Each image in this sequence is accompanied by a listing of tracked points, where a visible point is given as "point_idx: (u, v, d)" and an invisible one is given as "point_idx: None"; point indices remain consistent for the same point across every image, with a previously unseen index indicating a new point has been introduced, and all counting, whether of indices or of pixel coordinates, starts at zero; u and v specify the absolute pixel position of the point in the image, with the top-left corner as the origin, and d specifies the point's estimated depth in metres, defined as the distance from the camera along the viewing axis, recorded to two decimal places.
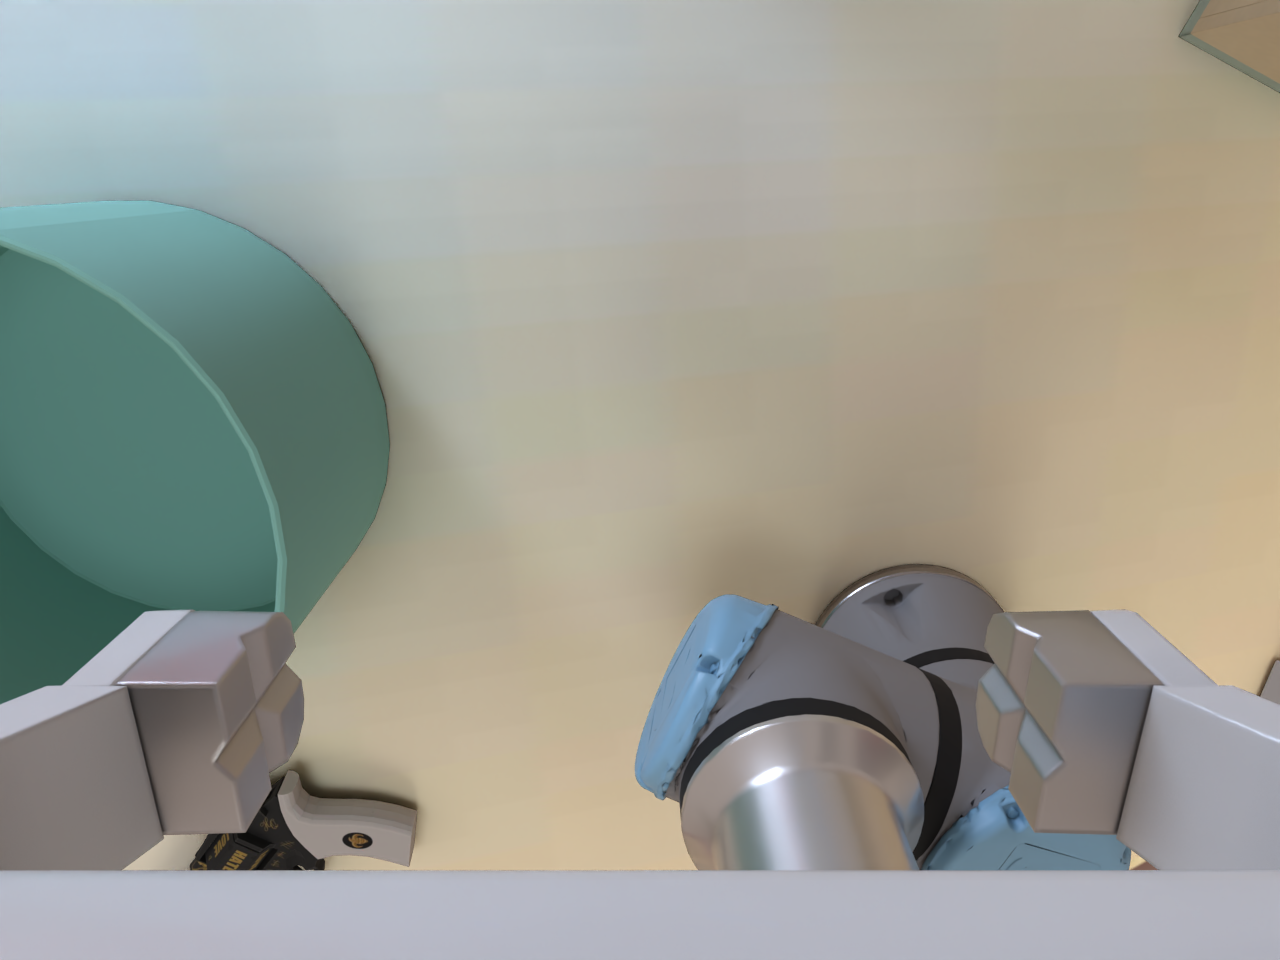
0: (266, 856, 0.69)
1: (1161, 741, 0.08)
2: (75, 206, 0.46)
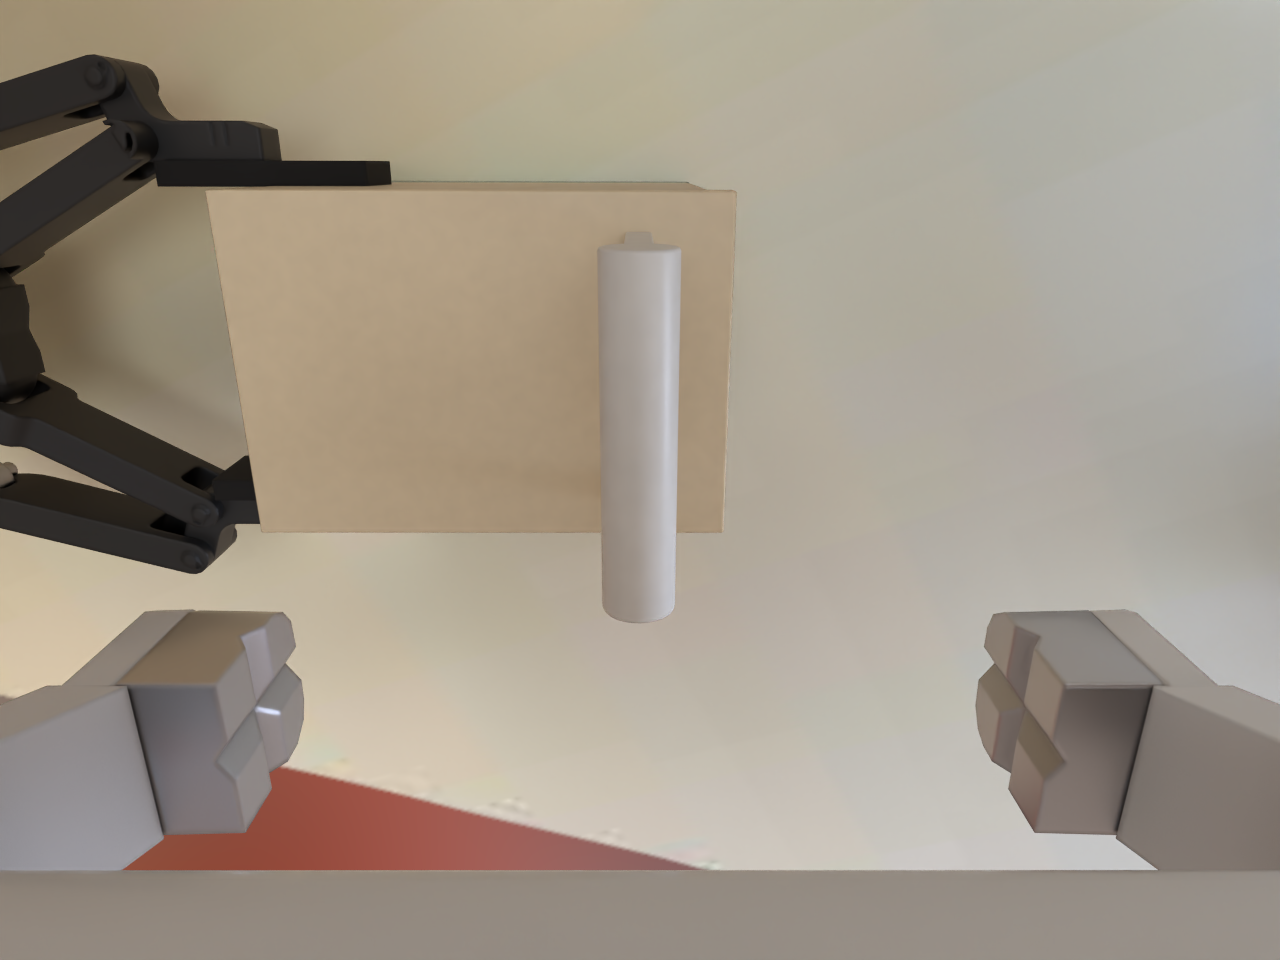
0: None
1: (1161, 741, 0.08)
2: None
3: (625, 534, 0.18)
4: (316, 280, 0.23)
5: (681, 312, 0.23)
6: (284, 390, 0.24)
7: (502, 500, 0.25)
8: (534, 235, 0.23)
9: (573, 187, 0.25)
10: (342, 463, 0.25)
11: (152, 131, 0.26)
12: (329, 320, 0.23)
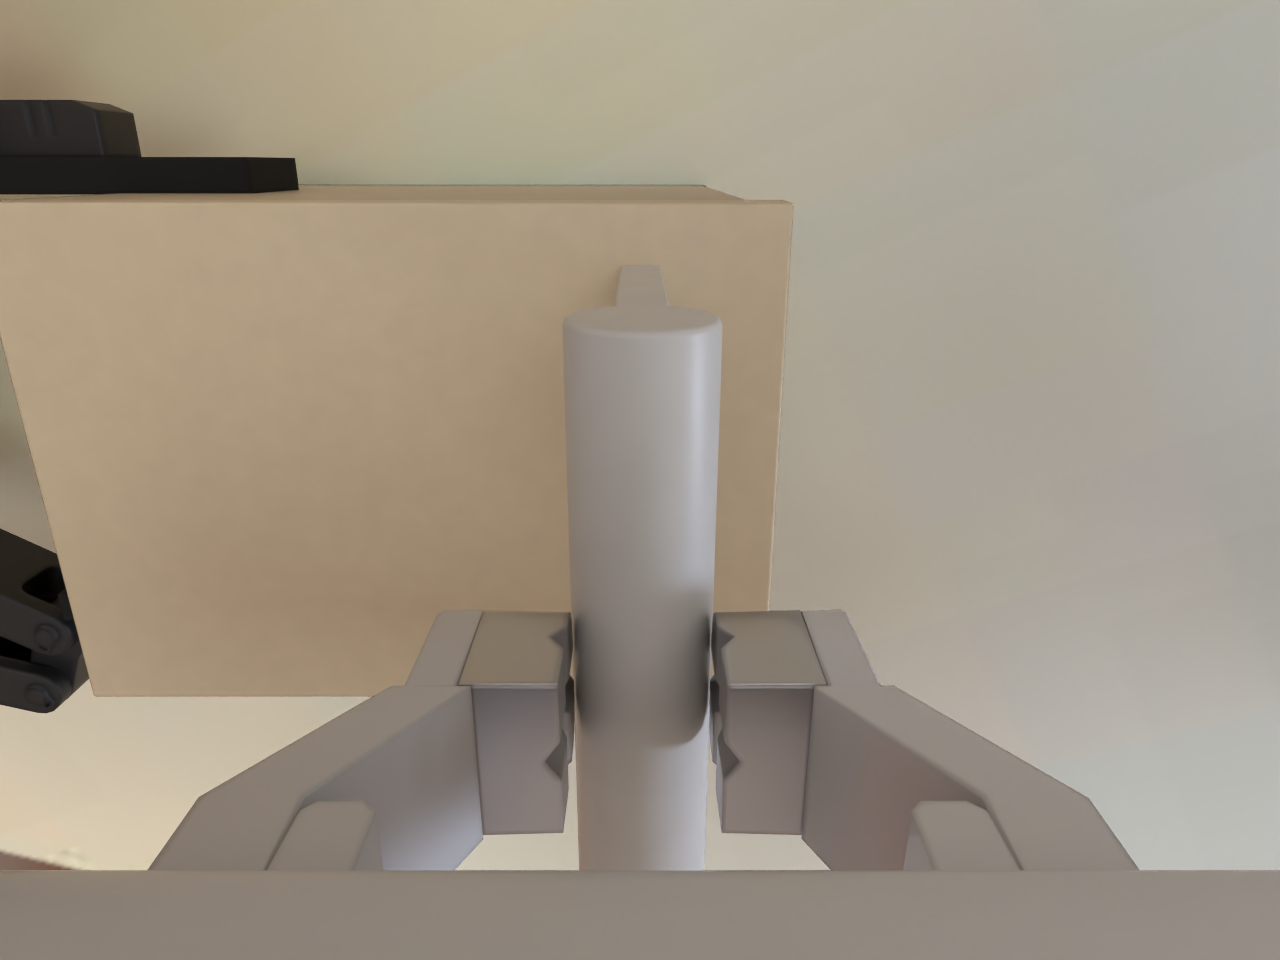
0: None
1: (823, 741, 0.08)
2: None
3: (618, 820, 0.10)
4: (148, 339, 0.15)
5: None
6: (111, 500, 0.16)
7: None
8: (480, 270, 0.15)
9: (545, 195, 0.17)
10: (205, 603, 0.17)
11: None
12: (172, 398, 0.15)
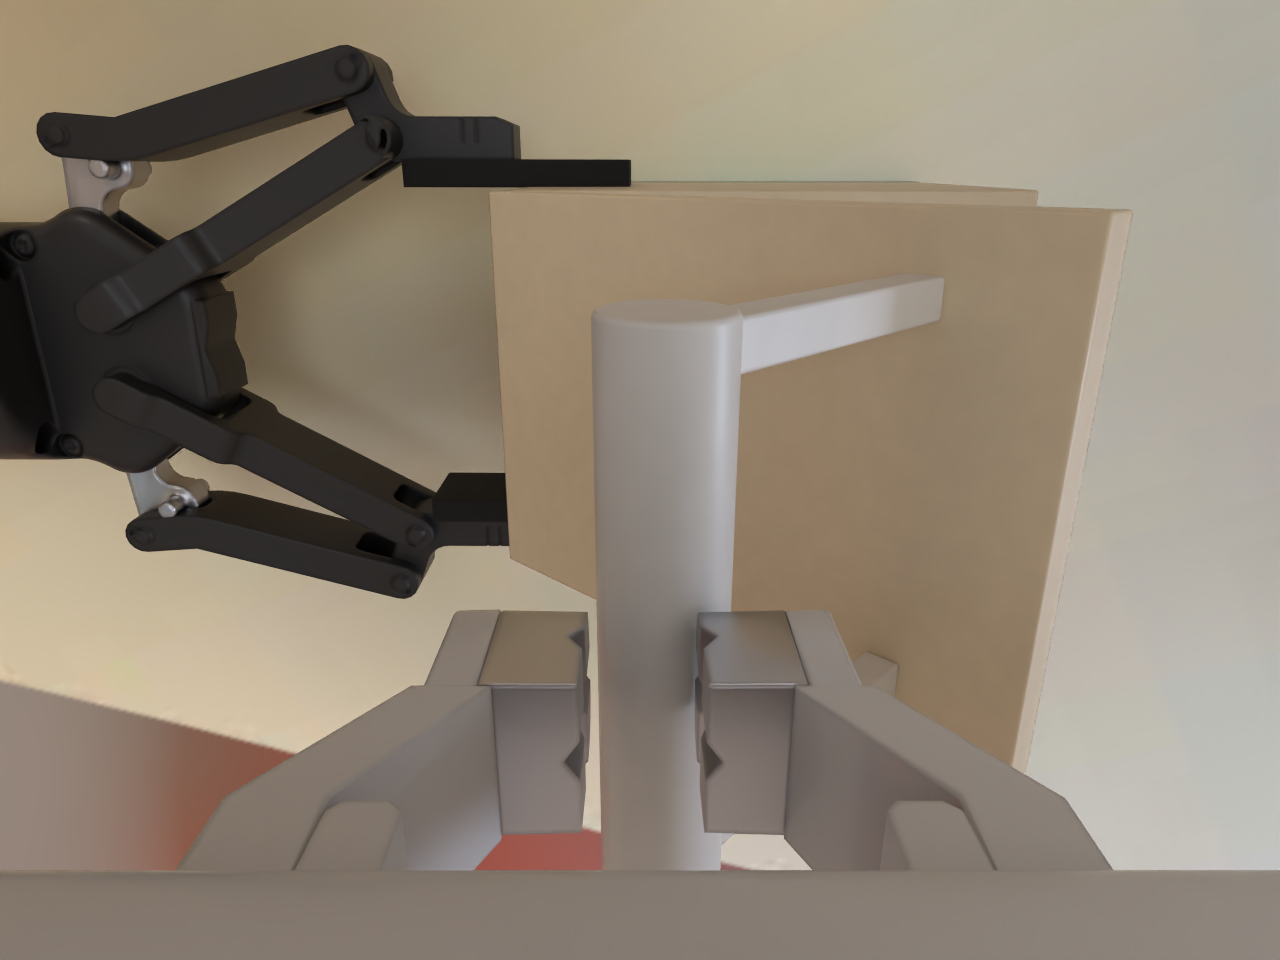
0: None
1: (804, 741, 0.08)
2: None
3: (607, 770, 0.11)
4: (563, 300, 0.20)
5: (979, 418, 0.14)
6: (532, 416, 0.21)
7: None
8: (780, 266, 0.15)
9: None
10: (572, 511, 0.21)
11: (398, 128, 0.25)
12: (570, 347, 0.20)
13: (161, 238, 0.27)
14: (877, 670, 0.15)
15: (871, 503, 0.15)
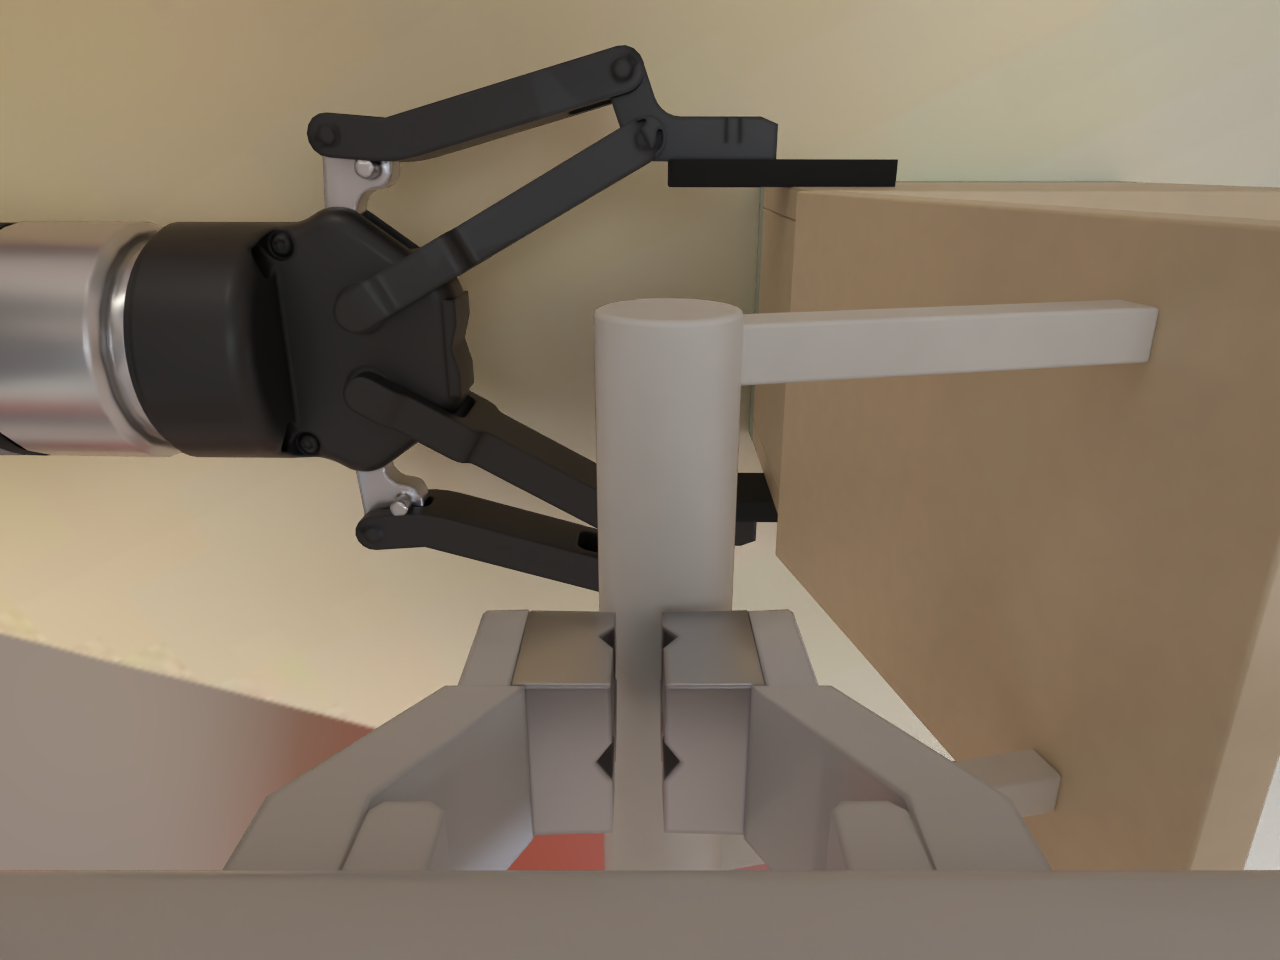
0: None
1: (761, 741, 0.08)
2: None
3: None
4: (835, 303, 0.19)
5: (1176, 493, 0.10)
6: (803, 418, 0.21)
7: (909, 660, 0.17)
8: (1005, 282, 0.13)
9: None
10: (820, 520, 0.21)
11: (664, 128, 0.25)
12: None
13: (405, 238, 0.27)
14: (1026, 773, 0.13)
15: (1057, 574, 0.13)
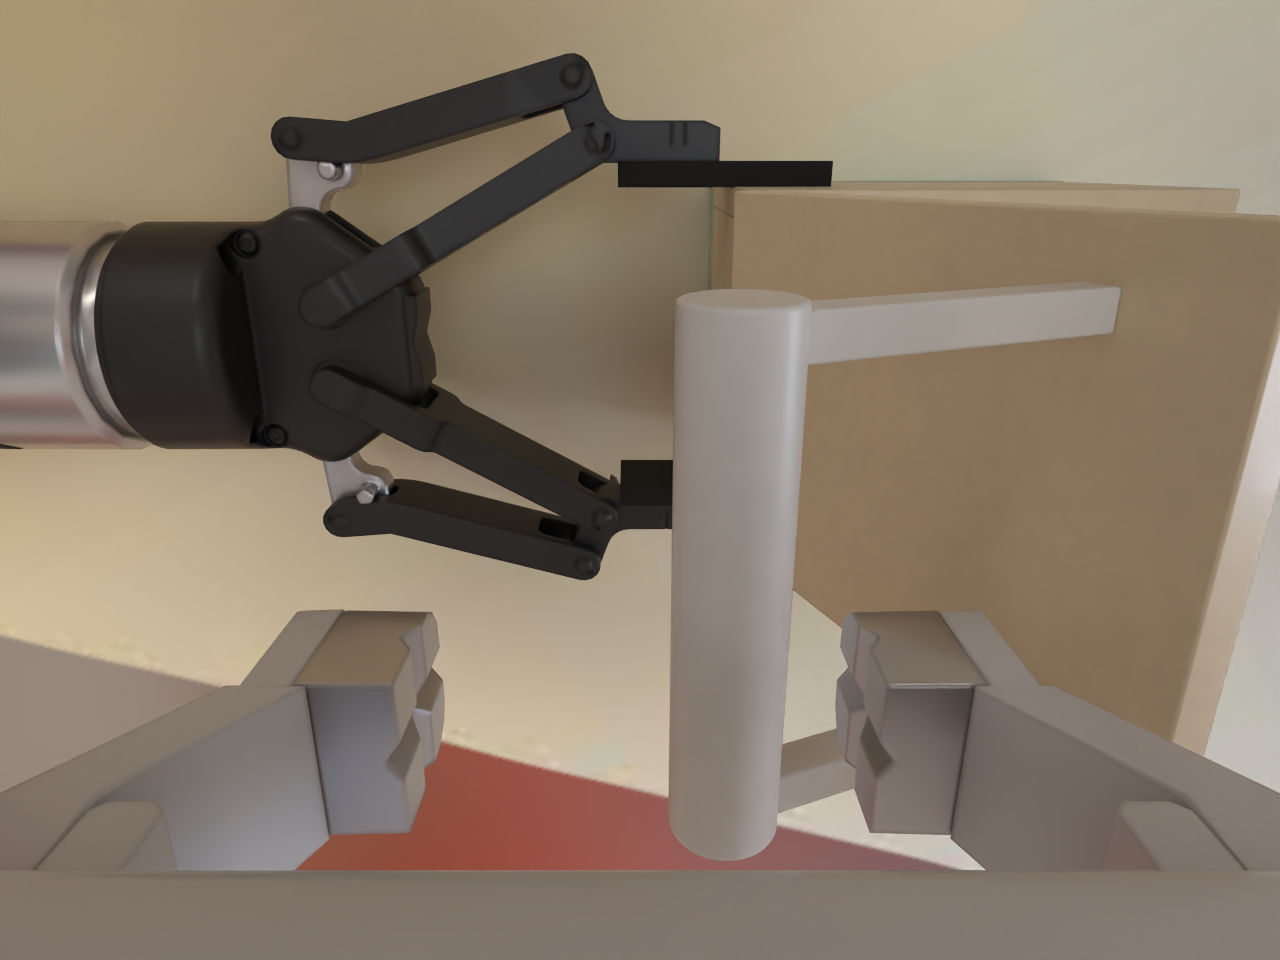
0: None
1: (983, 741, 0.08)
2: None
3: None
4: None
5: (1145, 442, 0.12)
6: None
7: None
8: (968, 269, 0.15)
9: (1057, 187, 0.25)
10: None
11: (613, 131, 0.26)
12: None
13: (367, 236, 0.28)
14: None
15: (1031, 521, 0.15)
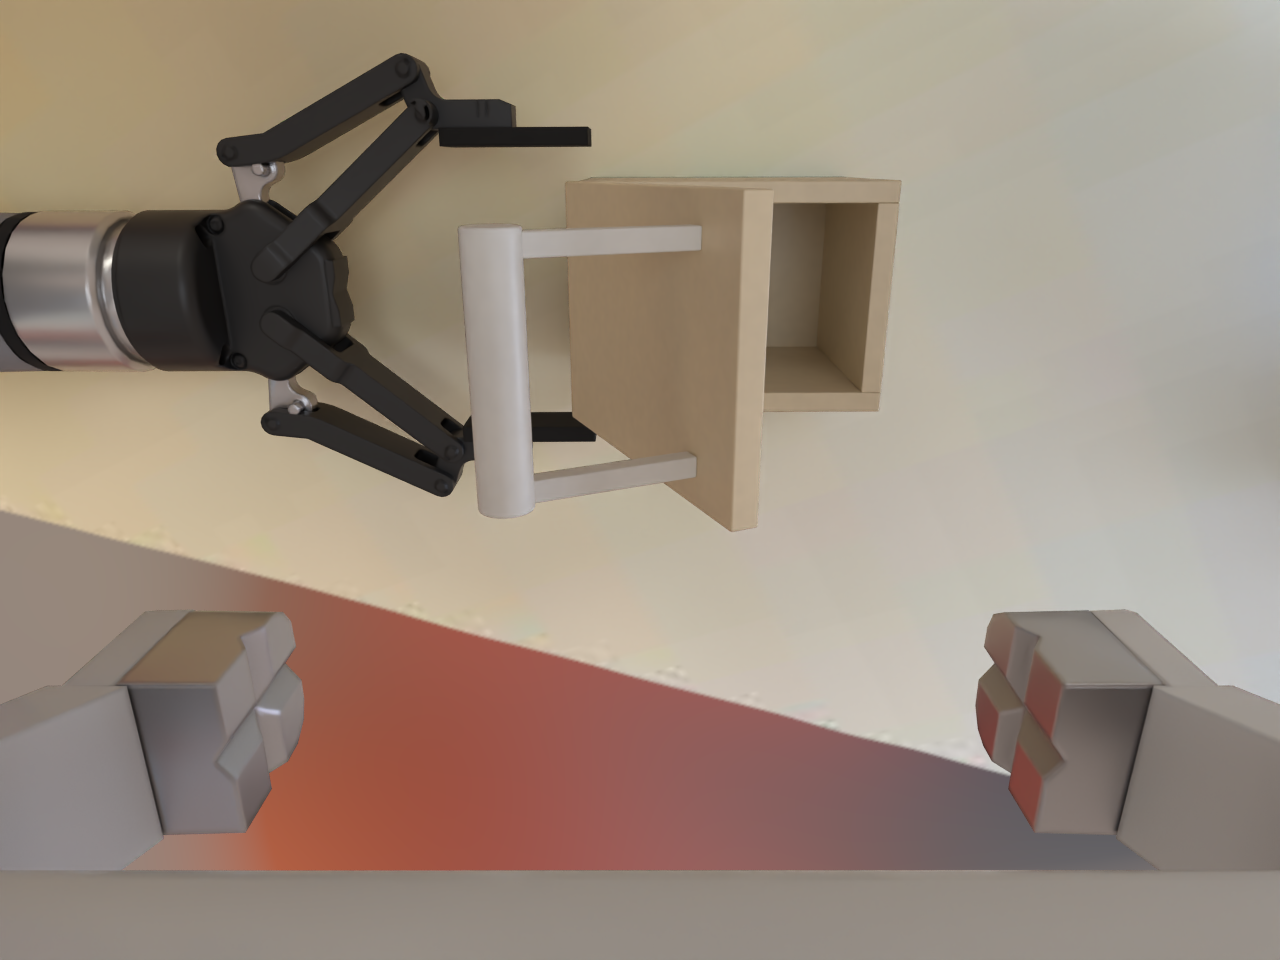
0: None
1: (1161, 741, 0.08)
2: None
3: None
4: None
5: (714, 304, 0.24)
6: (579, 321, 0.35)
7: (640, 439, 0.31)
8: (656, 222, 0.27)
9: None
10: (593, 381, 0.34)
11: (434, 105, 0.37)
12: (592, 275, 0.33)
13: None
14: (681, 457, 0.27)
15: (686, 359, 0.27)
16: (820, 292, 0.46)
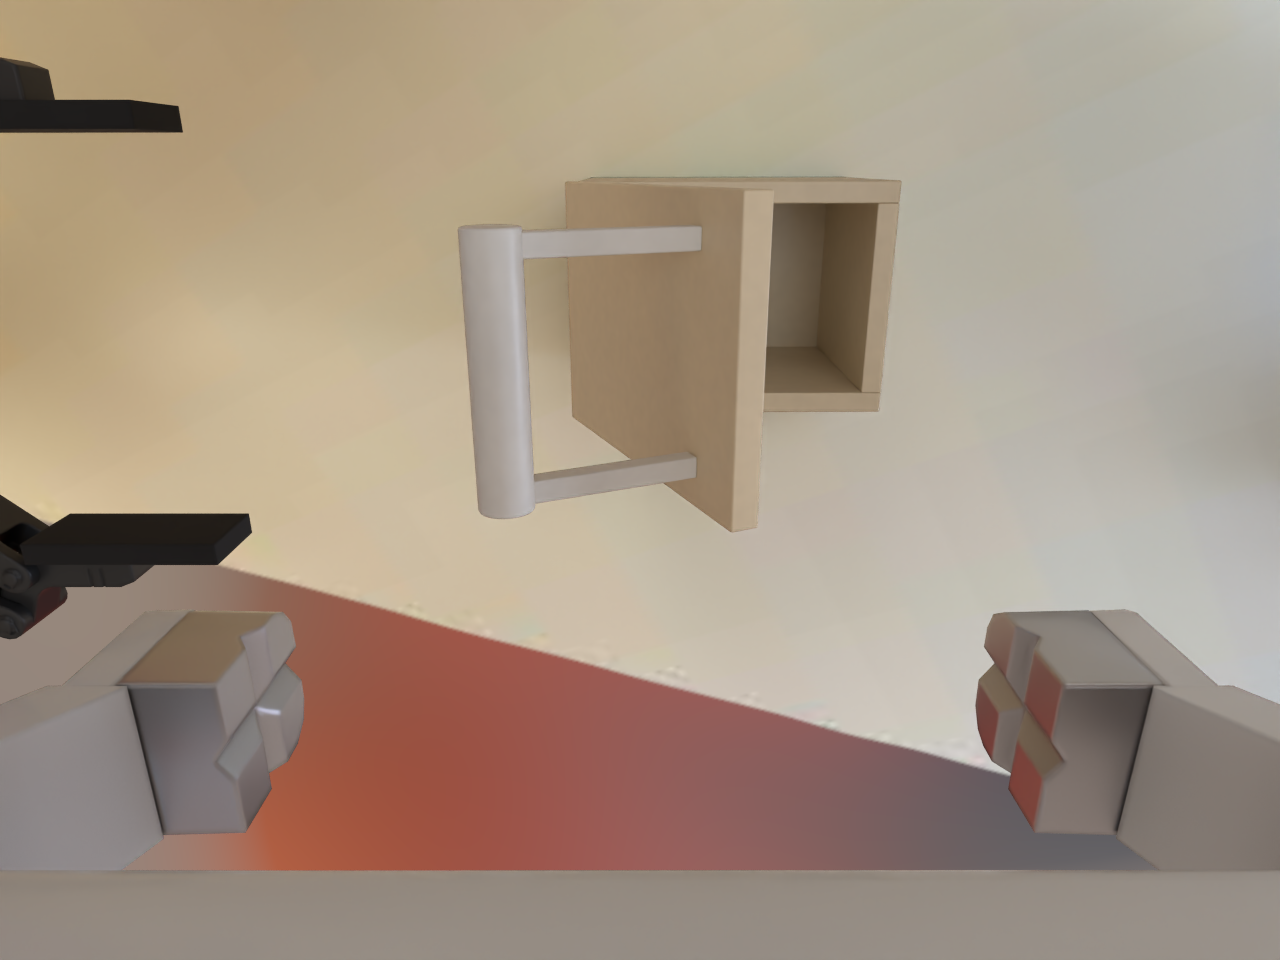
0: None
1: (1161, 741, 0.08)
2: None
3: None
4: None
5: (714, 305, 0.24)
6: (579, 321, 0.35)
7: (640, 439, 0.31)
8: (656, 223, 0.27)
9: None
10: (593, 381, 0.34)
11: None
12: (592, 276, 0.33)
13: None
14: (681, 457, 0.27)
15: (686, 359, 0.27)
16: (820, 292, 0.46)
